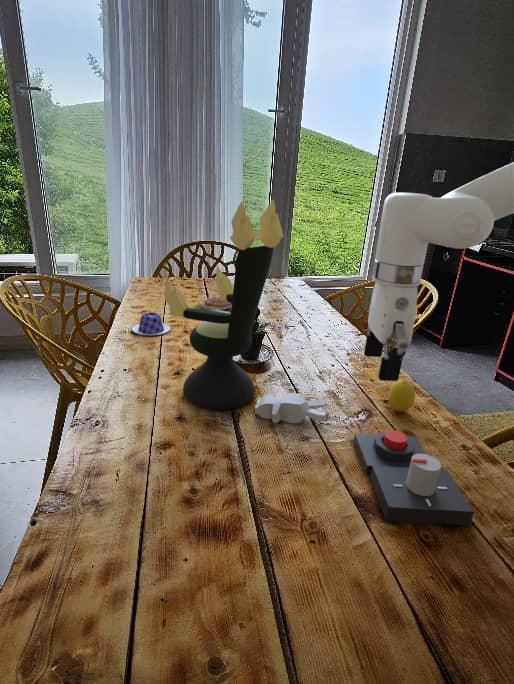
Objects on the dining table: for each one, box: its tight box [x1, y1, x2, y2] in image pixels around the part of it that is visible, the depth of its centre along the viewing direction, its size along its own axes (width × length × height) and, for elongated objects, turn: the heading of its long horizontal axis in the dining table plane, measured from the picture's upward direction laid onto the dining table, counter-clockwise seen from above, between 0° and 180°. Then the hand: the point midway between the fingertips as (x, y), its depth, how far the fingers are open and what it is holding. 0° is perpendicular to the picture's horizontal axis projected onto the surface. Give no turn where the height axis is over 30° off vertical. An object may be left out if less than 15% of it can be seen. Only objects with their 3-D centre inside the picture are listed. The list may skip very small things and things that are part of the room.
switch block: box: [353, 431, 427, 476], centre depth 83 cm, size 12×10×4 cm
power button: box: [383, 429, 407, 450], centre depth 82 cm, size 4×4×2 cm
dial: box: [406, 453, 442, 496], centre depth 71 cm, size 4×4×5 cm
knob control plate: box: [369, 466, 475, 527], centre depth 73 cm, size 13×10×3 cm
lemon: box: [387, 379, 416, 413], centre depth 99 cm, size 6×6×8 cm
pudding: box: [131, 311, 171, 336], centre depth 140 cm, size 12×12×5 cm
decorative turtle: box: [194, 295, 232, 314], centre depth 162 cm, size 18×17×5 cm
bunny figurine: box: [254, 392, 328, 424], centre depth 95 cm, size 10×5×15 cm
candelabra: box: [164, 199, 285, 411], centre depth 95 cm, size 19×22×45 cm
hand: (379, 367), depth 79 cm, fingers open, 9 cm apart
